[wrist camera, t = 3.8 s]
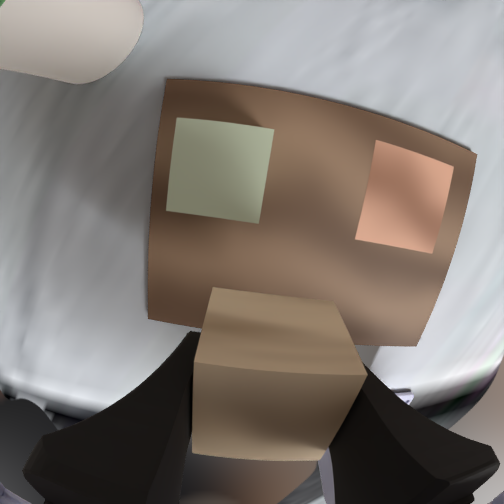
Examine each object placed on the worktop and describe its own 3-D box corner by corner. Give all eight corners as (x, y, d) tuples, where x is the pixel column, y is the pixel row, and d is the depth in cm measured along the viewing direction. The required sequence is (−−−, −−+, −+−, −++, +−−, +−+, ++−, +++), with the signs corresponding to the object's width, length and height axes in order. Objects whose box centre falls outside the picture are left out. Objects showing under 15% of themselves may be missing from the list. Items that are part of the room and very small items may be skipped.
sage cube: (257, 205, 16) (258, 223, 13) (185, 195, 16) (166, 210, 12) (268, 133, 15) (274, 129, 11) (194, 123, 15) (176, 117, 11)
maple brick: (305, 386, 12) (319, 460, 8) (205, 377, 12) (192, 452, 8) (333, 301, 11) (367, 374, 7) (212, 287, 10) (193, 361, 7)
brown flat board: (413, 342, 20) (416, 346, 20) (150, 314, 19) (147, 318, 19) (472, 153, 15) (477, 154, 15) (169, 80, 14) (166, 78, 14)
